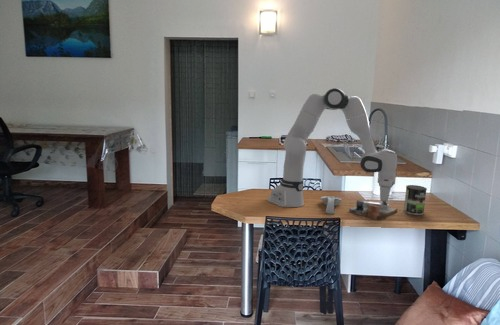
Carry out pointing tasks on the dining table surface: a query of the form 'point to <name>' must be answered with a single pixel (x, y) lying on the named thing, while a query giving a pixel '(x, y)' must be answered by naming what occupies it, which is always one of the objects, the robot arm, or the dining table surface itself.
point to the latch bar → (365, 204)
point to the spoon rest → (330, 203)
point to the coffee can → (415, 199)
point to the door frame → (373, 211)
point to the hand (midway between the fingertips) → (384, 205)
